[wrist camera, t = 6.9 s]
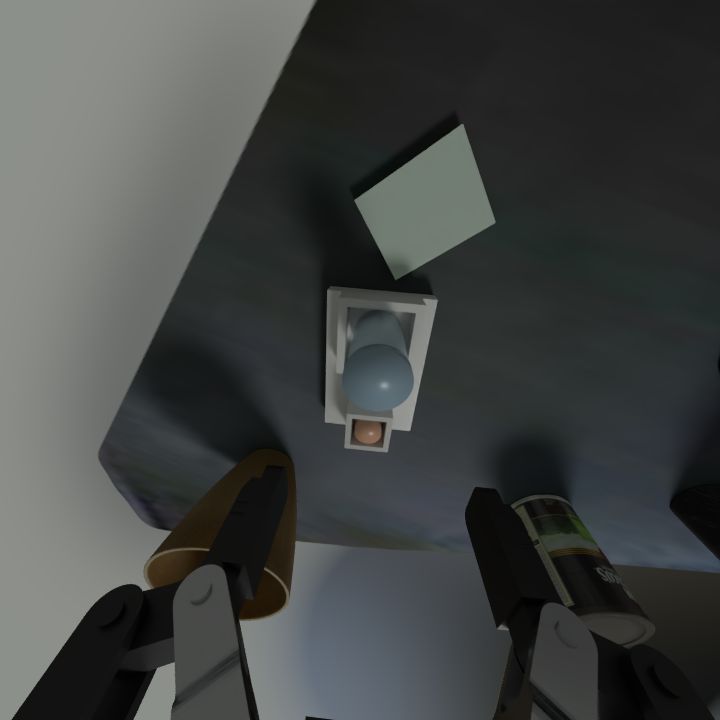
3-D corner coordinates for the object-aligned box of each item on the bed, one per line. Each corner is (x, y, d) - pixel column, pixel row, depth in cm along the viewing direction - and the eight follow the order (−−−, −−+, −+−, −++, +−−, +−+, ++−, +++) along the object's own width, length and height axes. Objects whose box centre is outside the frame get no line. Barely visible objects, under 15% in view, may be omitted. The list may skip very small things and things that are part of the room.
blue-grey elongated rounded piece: (406, 311, 27) (419, 353, 18) (398, 356, 29) (407, 414, 20) (355, 306, 27) (343, 346, 18) (352, 352, 29) (340, 407, 20)
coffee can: (550, 483, 39) (631, 605, 27) (583, 516, 42) (671, 640, 29) (490, 511, 43) (536, 629, 30) (524, 540, 46) (579, 658, 33)
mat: (459, 128, 21) (462, 123, 20) (491, 222, 24) (495, 222, 23) (355, 201, 24) (354, 200, 23) (394, 278, 27) (395, 280, 26)
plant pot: (271, 506, 46) (223, 631, 32) (206, 453, 41) (114, 574, 27) (338, 476, 41) (317, 607, 27) (274, 412, 36) (207, 532, 22)
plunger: (382, 404, 31) (382, 424, 28) (379, 424, 33) (379, 444, 30) (357, 402, 32) (355, 421, 28) (356, 421, 33) (353, 442, 30)
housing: (433, 295, 28) (447, 311, 22) (408, 420, 35) (413, 455, 30) (330, 286, 28) (319, 300, 22) (327, 412, 36) (318, 445, 30)
